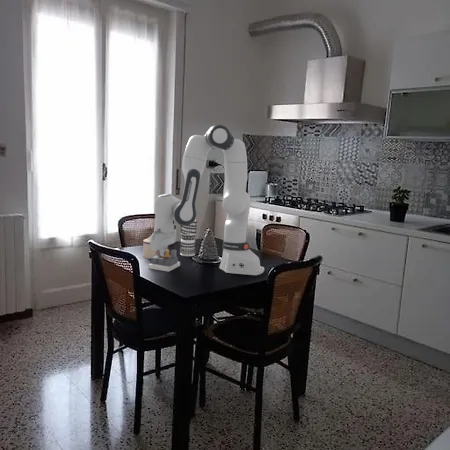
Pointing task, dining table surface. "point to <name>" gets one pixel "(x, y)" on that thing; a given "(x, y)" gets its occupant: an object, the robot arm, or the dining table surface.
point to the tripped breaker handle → (166, 253)
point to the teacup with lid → (148, 249)
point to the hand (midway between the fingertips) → (163, 255)
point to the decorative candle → (188, 239)
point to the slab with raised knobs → (164, 262)
